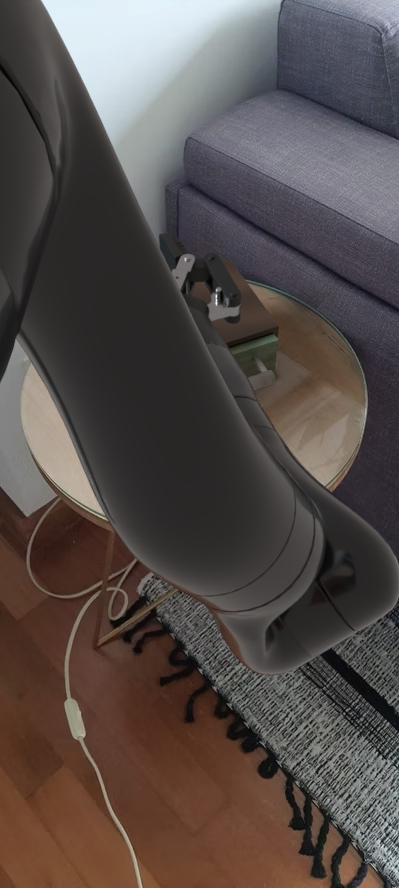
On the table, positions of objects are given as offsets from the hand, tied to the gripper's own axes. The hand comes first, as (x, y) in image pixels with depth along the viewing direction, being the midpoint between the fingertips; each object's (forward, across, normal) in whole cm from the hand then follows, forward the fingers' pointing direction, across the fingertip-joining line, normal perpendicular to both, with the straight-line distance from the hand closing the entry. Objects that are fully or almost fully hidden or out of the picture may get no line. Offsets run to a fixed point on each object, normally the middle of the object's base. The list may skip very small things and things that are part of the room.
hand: (114, 254), depth 57 cm
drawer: (+8, -13, +27) cm, 31 cm away
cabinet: (+12, -13, +28) cm, 33 cm away
